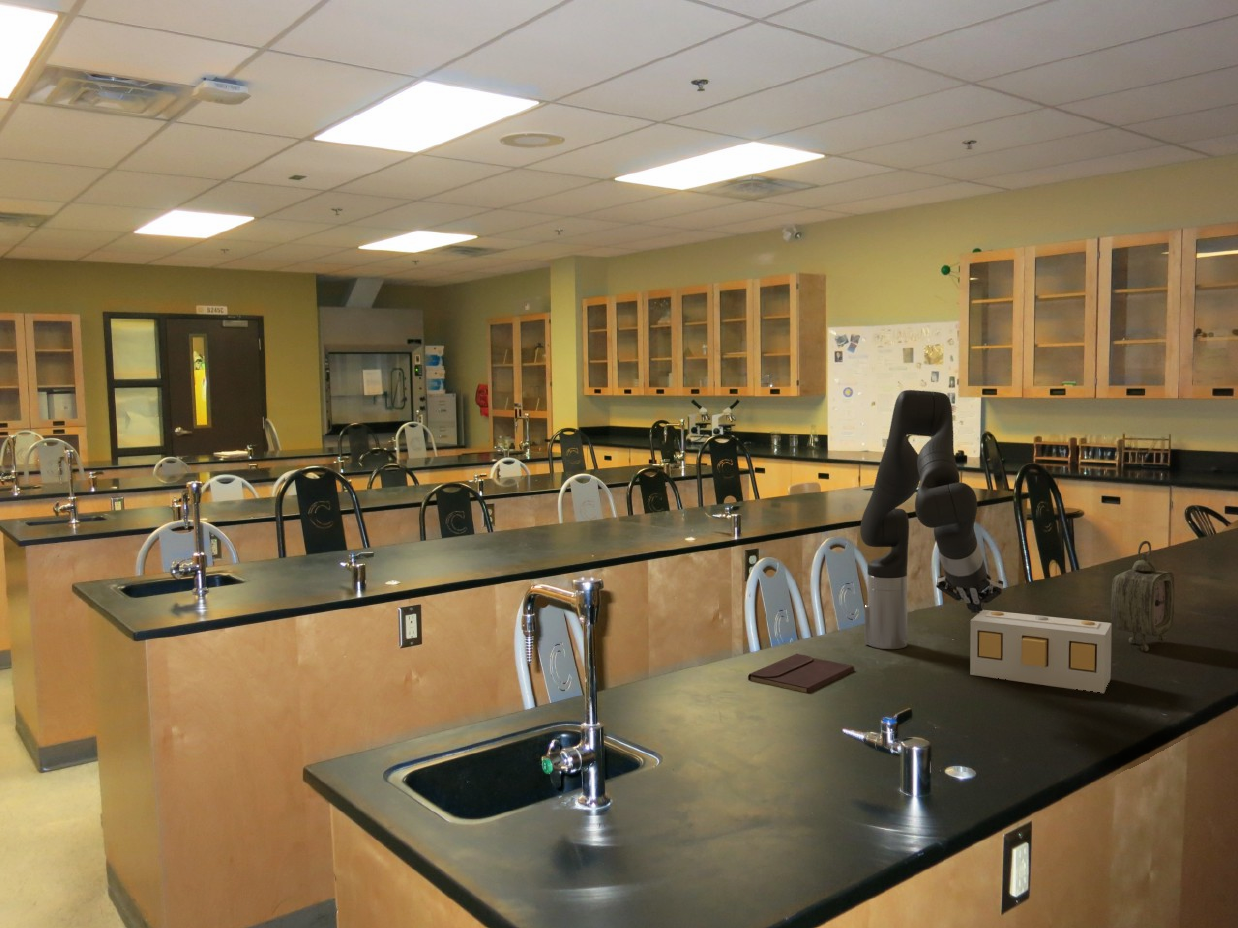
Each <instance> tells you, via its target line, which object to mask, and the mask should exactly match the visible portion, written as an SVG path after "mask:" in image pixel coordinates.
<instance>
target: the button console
mask: <svg viewBox="0 0 1238 928" xmlns="http://www.w3.org/2000/svg"><path fill="white" fill-rule="evenodd" d="M1112 627H1113V625H1112V622H1106V621H1105V622H1103V621H1095V620H1094V621H1093V620H1087V619H1085V620H1084V619H1076V618H1075V619H1074V618H1066V617H1055V616H1047V615H1046V616H1045V615H1038V614H1027V613H1018V612H1017V613H1016V612H1007V611H999V610H990V609H988V610H987V609H983V610H982V611H980V613H976V615H975V616H974V617H972V618H971V619H970V636H969V637H970V640H969V641H970V649H969V650H970V652H969V654H970V655H969V657H970V661H969V663H970V667H969V668H970V670H969V672H970V674H969V675H970V676H975V677H976V676H979V677H984V678H992V679H998V678H999V680H1005V679H1006V680H1007V681H1011V682H1012V681H1013V682H1021V683H1026V684H1034V685H1040V686H1041V685H1043V686H1048V687H1056V688H1063V689H1069V690H1076V689H1078V690H1077V691H1083V690H1086V691H1085V692H1090V691H1093V692H1092V693H1097V692H1100V693H1099V694H1105V692H1106V689H1107V688H1108V686H1109V684H1108V683H1110V681H1111V677H1112V673H1111V672H1112V670H1111V669H1112V629H1113V628H1112ZM980 631H990V632H998V633H1003V656H1002V658H1001V659H1000V658H992V657H985V656H979V632H980ZM1025 636H1027V637H1036V638H1044V639H1047V664H1046V666H1045V667H1041V666H1033V665H1025V664H1022V639H1023V638H1024V637H1025ZM1072 641H1077V642H1085V643H1094V644H1097V661H1096V669H1095V671H1093V670H1085V669H1077V668H1071V642H1072ZM1006 680H1005V681H1006ZM1107 685H1108V686H1107ZM1106 687H1107V688H1106Z"/></svg>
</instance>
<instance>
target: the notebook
mask: <svg viewBox="0 0 1238 928" xmlns="http://www.w3.org/2000/svg"><path fill="white" fill-rule="evenodd" d="M852 672H855V666H854V665H851V664H847V663H841V662H836V661H831V660H825V659H820V658H815V657H812V656H809V655H806V654H800V653H794V654H793V655H791V656H788V657H785V658H783V659H781V660H779V661H776V662H774V663H772V664H768V665H767V666H764V667H762V668H760V669H758V670H755V671H753V672H751V673H749V674H748V676H747V680H748V681H752V682H757V683H760V684H765V685H771V686H774V687H780V688H783V689H784V688H785V689H789V690H794V691H797V692H801V693H806V694H810V693H812V692H814V691H816V690H819V689H820V688H823V687H824V686H826V685H828V684H830V683H833V682H834V681H836V680H839V679H841V678H842V677H844V676H846V675H849V674H851V673H852Z"/></svg>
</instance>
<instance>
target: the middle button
mask: <svg viewBox="0 0 1238 928" xmlns="http://www.w3.org/2000/svg"><path fill="white" fill-rule="evenodd" d="M1022 664H1025V665H1033V666H1041V667H1045V666H1046V664H1047V639H1044V638H1036V637H1027V636H1025V637H1024V638H1023V639H1022Z"/></svg>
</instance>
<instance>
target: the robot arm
mask: <svg viewBox="0 0 1238 928" xmlns="http://www.w3.org/2000/svg"><path fill="white" fill-rule="evenodd" d="M909 435H910V436H922V437H924V436H925V437H931V438H930V439H929V440H928V441H927V442H925V444H924V445H923V446H922V448H921V449H920V450H919V452H917V451H916V449H915V448H914V446H913V445H912V444H911V442H910V441H909V438H908V436H909ZM886 441H887V442H886V444H885V445H886V446H885V449H884V451H883V454H882V458H881V460H880V462H879V467H878V470H877V473H876V477H875V482H874V485H873V490H872V493H871V496H870V498H869V500H868V502H867V505H866V507H865V509H864V511H863V513H862V517H861V522H860V528H859V530H860V537H861V540H862V543H864V544H865V545H866V546H868V547H870V548H871V547H873V548H890V550H889V552H887V553H885V555H883V556H881V557H878V558H874V559H873V560H871V561H869V562H868V564H867V570H866V571H867V604H866V605H865V606H864V645H865V646H870V647H873V648H875V649H882V650H898V649H900V650H901V649H903V648H906V647H907V646H908V562H909V561H908V560H909V558H908V557H909V556H908V555H909V540H910V539H909V538H910V537H909V536H910V521H909V520H910V519H909V515H908V513H907V512H906V510H905V509H903V508H899V506H901V505H902V504H904V503H905V502H906V501H908V500H909V499H910V498H912V496H913V495H914V494H915V493H916V496H915V499H914V510H915V511H914V512H915V515H916V517H917V520H918V521H919V522H920V523H921V525H923V526H925V527H927V528H928V529H929V528H930V529H933V535H934V539H935V542H936V546H937V549H938V556H939V561H940V563H941V566H942V569H943V572H944V575H941V574H940V575H938V577H937V582H936V585H935V587H936V588H937V589H938V590H940V591H942V592H943V593H945V594H946V595H947V596H949V597H950V598H952V599H954V600H955V601H959V602H960V601H961V600H963V602H964V603H966V607H967V609H968V610H969V611H971V613H975V614H978V613H980V612H981V611H982V610H984V604H989V603H990V602H992V601H993V600H994V599H996V598H998V597H999V596H1000V595H1002V592H1003V588H1004V587H1003V586H1004V580H1001V579H998V580H996V581H994V580H992V577H991V575H990V574H988V573H987V568H986V563H985V560H984V557H983V551H982V550H981V549H982V548H981V546H980V544H979V542H978V539H977V536H976V532H975V528H974V527H975V521H976V517H977V512H978V498H977V495H976V492H975V490H974V489H973V488H972V487H971V486H970V485H969V484H968V483H965V482H962V481H960V480H961V479H960V477H961V476H960V473H959V469H958V463H957V461H956V457H955V451H954V421H953V409H952V403H951V399H950V398H949V396H948V395H947V394H946V393H943V392H940V391H930V390H929V391H928V390H915V389H906V390H902V391H900V393H899V394H898V395H897V398H896V400H895V403H894V407H893V411H892V416H891V422H890V426H889V432H888V437H887V440H886Z"/></svg>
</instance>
